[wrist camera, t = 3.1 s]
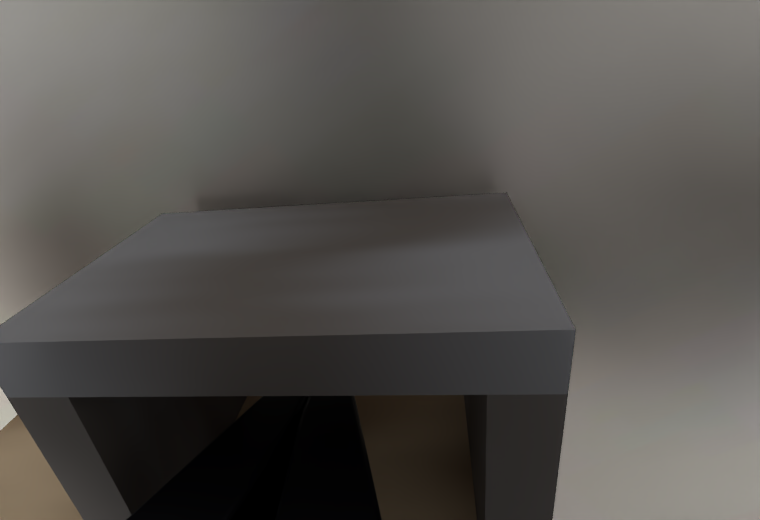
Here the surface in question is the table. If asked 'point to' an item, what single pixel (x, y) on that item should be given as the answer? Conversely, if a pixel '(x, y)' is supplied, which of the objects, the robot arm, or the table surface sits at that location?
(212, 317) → the flap
